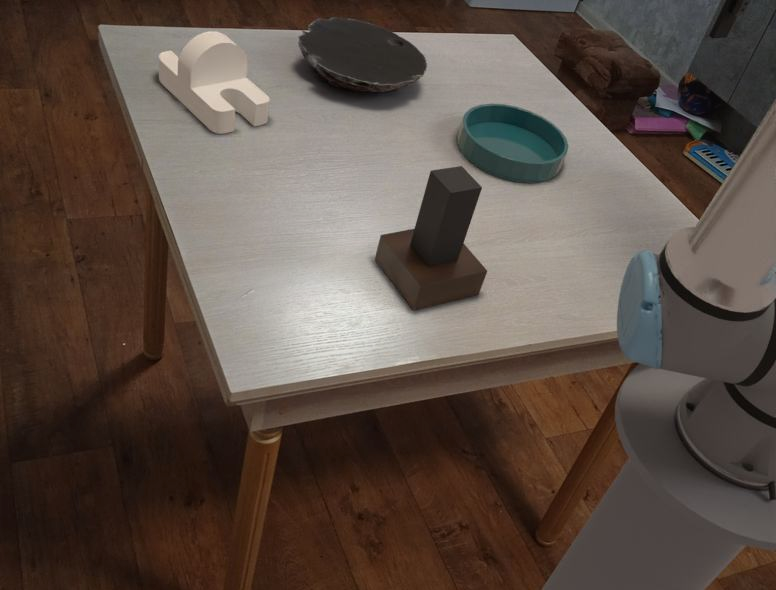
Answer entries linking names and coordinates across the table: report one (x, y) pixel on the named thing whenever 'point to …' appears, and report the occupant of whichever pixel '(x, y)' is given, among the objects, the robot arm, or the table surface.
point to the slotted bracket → (214, 82)
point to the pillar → (445, 215)
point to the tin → (512, 143)
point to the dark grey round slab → (361, 55)
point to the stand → (427, 272)
